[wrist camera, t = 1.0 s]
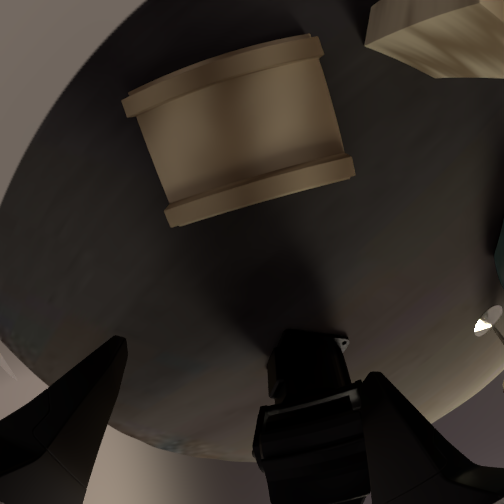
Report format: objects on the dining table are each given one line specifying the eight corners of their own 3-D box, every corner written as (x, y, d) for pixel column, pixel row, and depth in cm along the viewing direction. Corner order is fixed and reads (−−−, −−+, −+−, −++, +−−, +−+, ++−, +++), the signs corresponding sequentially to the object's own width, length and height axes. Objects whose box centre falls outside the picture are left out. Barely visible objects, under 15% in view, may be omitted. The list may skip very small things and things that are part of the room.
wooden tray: (307, 37, 15) (314, 27, 13) (345, 175, 19) (357, 184, 17) (133, 92, 16) (118, 92, 14) (182, 221, 21) (174, 235, 19)
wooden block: (440, 40, 14) (559, 27, 3) (434, 78, 15) (562, 85, 5) (370, 6, 13) (474, -55, 3) (364, 46, 15) (479, 3, 4)
